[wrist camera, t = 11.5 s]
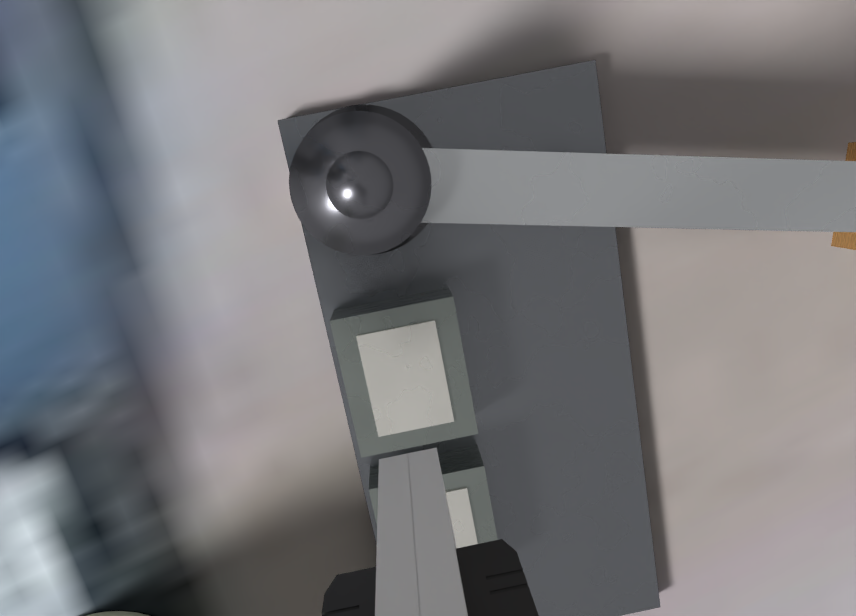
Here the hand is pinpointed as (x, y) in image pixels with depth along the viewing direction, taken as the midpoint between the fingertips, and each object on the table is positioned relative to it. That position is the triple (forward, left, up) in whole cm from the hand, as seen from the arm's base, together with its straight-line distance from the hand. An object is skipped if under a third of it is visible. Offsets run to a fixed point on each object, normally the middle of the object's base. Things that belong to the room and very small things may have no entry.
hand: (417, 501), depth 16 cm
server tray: (+2, +4, -12) cm, 13 cm away
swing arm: (-6, +9, -11) cm, 15 cm away
